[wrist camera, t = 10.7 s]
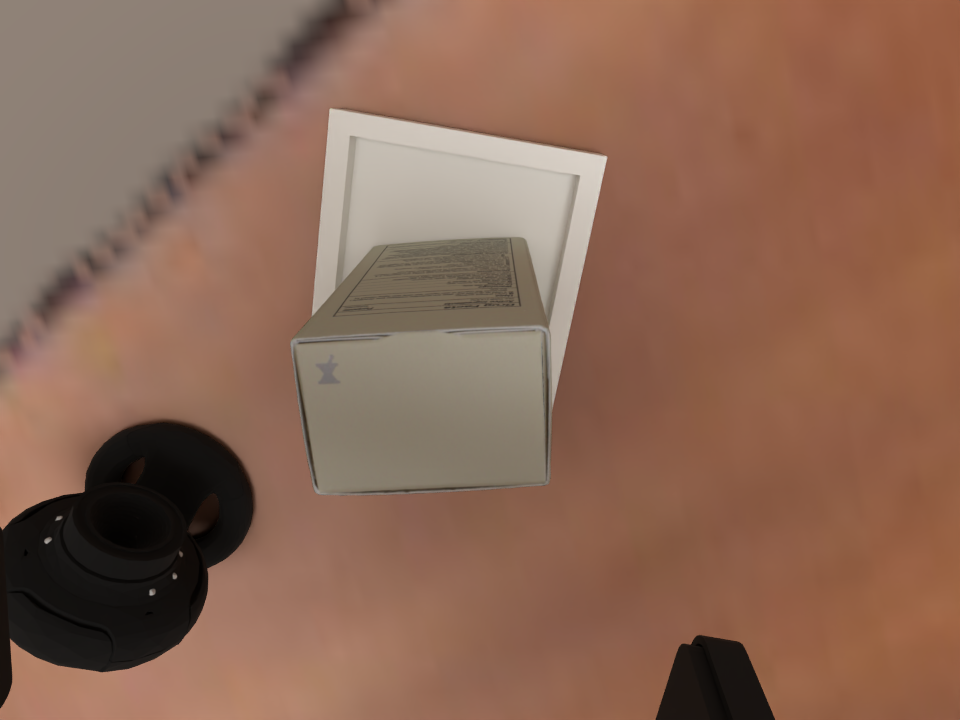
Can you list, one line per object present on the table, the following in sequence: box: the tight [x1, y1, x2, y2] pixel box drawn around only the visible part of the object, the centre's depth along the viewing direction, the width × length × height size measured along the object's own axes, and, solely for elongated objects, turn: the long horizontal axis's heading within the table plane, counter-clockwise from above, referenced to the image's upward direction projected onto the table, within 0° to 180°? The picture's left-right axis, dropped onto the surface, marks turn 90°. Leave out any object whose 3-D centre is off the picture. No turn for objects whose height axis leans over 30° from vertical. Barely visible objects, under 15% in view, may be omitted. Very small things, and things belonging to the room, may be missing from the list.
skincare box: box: [290, 237, 552, 496], centre depth 23 cm, size 6×4×12 cm
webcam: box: [2, 423, 253, 672], centre depth 28 cm, size 8×8×10 cm
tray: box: [312, 108, 607, 408], centre depth 28 cm, size 10×12×2 cm
